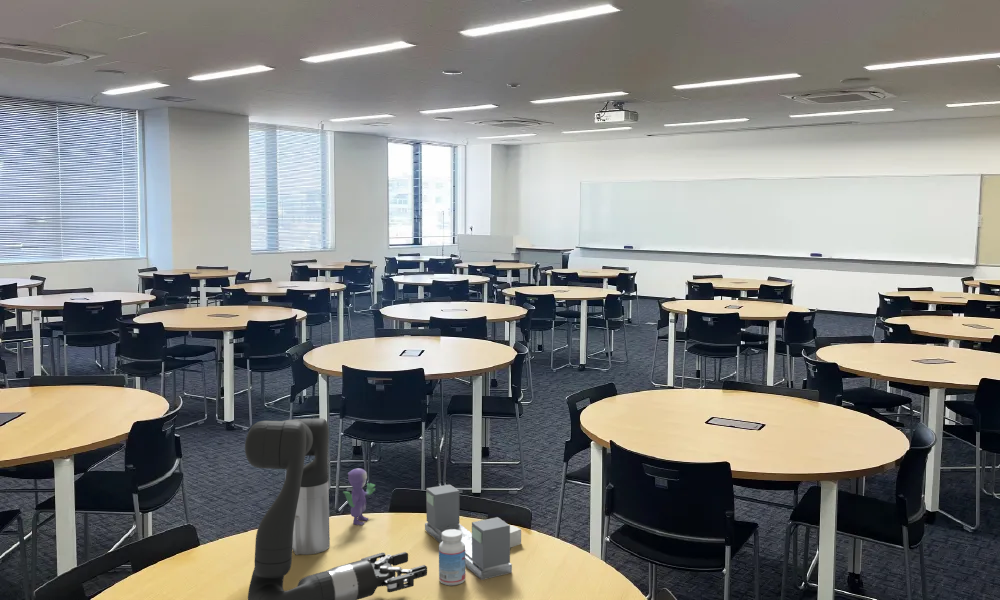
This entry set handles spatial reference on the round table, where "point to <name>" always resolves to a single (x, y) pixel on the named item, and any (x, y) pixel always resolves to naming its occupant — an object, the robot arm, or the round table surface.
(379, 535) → the round table surface
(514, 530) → the box
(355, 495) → the toy
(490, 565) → the modules
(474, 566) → the rail
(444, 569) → the pill bottle
